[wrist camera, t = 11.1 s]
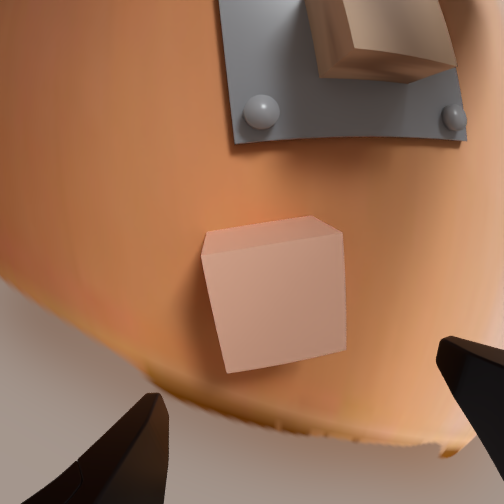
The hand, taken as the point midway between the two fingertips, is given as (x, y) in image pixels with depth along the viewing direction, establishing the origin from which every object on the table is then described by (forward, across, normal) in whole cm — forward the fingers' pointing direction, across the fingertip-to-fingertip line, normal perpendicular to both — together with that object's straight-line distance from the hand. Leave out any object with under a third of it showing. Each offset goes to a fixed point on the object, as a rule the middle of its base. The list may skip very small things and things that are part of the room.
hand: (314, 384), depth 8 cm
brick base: (+10, -7, -14) cm, 18 cm away
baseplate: (+10, -7, -14) cm, 19 cm away
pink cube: (+10, 0, 0) cm, 10 cm away
